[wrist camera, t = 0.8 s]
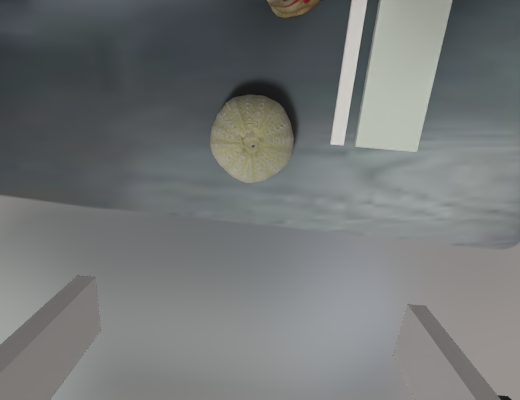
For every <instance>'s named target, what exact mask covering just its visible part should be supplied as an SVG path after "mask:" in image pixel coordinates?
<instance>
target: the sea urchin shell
mask: <svg viewBox="0 0 520 400" xmlns="http://www.w3.org/2000/svg"><path fill="white" fill-rule="evenodd" d="M293 137H294V135H293V133H292V128H291V122H290V121H289V118H288V116H287V114H286V112H285V110H284V108H283V107H282V106H281V105H280V104H279V103H278V102H276V101H274V100H272V99H270V98H268V97H266V96H262V95H253V94H252V95H249V94H247V95H245V96H239V97H234V98H232V99H231V100H229V101H228V102H226V104H225V105H224V106H223V108H222V109H221V110H220V112H219V113H217V117H216V120H215V122H214V124H213V126H212V128H211V139H210V146H211V150H212V151H211V152H212V153H213V155H214V157H215V158H216V160H217V162H218V163H219V165H221V166H222V167H223V168H224V169H225V170H226V171H227V172H228V173H229V174H230V175H231V176H233V177H235V178H236V179H238V180H240V181H242V182H246V183H254V182H259V181H263V180H266V179H268V178H269V177H271V176H273V175H275V174H276V173H278V172H280V170H282V168H284V166H285V165H286V164H287V163H288V162H289V161H290V158H291V156H292V154H293V143H294V141H293V140H294V138H293Z"/></svg>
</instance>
